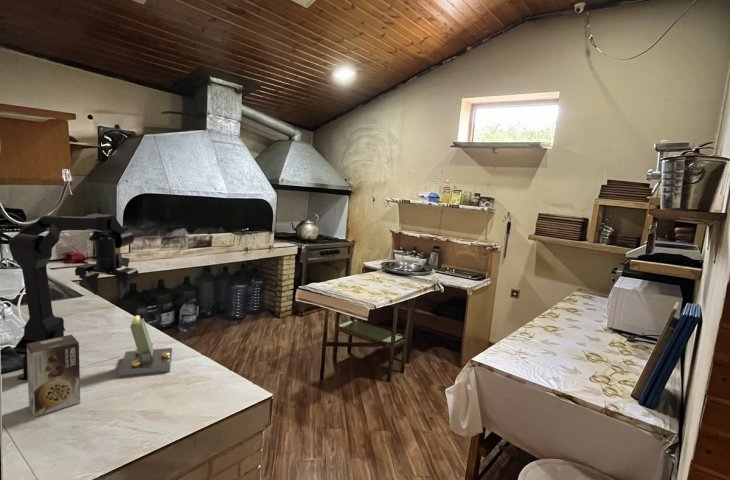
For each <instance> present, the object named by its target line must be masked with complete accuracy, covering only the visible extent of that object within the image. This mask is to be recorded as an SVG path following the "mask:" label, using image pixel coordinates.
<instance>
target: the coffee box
mask: <svg viewBox="0 0 730 480" xmlns="http://www.w3.org/2000/svg"><path fill="white" fill-rule="evenodd" d="M27 369H28V379H27V388H28V389H27V393H28V407H29V409H30V411H31V413H32V415H33V416H34V417H35V418H36V417H40V416H41V415H46V414H48V413H52V412H55V411H58V410H61V409H65V408H68V407H70V406H74V405H76V404H79V403H81V377H80V376H81V373H80V342H79V341H78V340H77V339H76V337H75V336H74V335H73V334H68V335H64V336H62V337H57V338H52V339H47V340H42V341H38V342H33V343H28V344H27Z"/></svg>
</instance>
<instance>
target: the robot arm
mask: <svg viewBox="0 0 730 480" xmlns="http://www.w3.org/2000/svg"><path fill="white" fill-rule="evenodd" d="M47 230H48V233H46V235H41V234H43V233H45V232H46V231H47ZM63 230H64V231H65V230H88V231H91V232H93V231H94V232H93V234H91V236H89V238H88V241H91V242H94V255H92V256H91V257H92V260H95V263H89V262H87V263H85V264H81V265H78V266H76V267H75V270H74V275H75V276H78V278H79V279H81V280H82V281H83V283H84V284H86V286H87V287H88V288H89V290H90V291H91V292H92V294H93V295H94V296H95V295H96V296H97V295H98V294H99V280H98V278H99V276H100V275H106V276H115V279H116V280H115V281H114V283H115V286H116V289H117V294H118V297H119V298H120V299H122V298H124V295H125V292H126V289H127V287H128V284H129V283H130V282H131V281H132V280H134V279H136V278H137V277H139V271H138V268H134V267H129V266H130V265H129V264H130V258H128V257H121V256H120V253H119V252H116V250H117V249H121V248H124V247H126V246H130V245H133V243H134V241H135V236H134V234H133V233H132V231H131V230H129V227H128V226H122V225H121V223H120V222H119V221H118V219H117V217H116V215H113V214H112V215H111V214H102V213H90V214H87V215H86V216H67V215H66V216H63V215H51V214H50V215H49V214H46V215H42V216H41V217H39V218H38V220H36V221H35V222H33V223H30V224H29V225H27V226H25V227H23V228H22V229H20V231H19V232H18V233H17V234H15V235H14V236H13V237H12V238H11V240H9V243H8V248H9V251H10V254H11V257H12V259H13V261H15V262H16V264H17V265H18V266H19V267H20V269H21V271H22V278H23V279H22V280H23V282H24V283H23V284H24V290H25V296H26V297H25V298H26V302H27V308H28V309H27V310H28V315H29V317H28V320H27V321H26V323H25V325H24V327H23V336H22V337H21V338H20V340H18V343H17V344H16V345H15V347H14V348H13V351H14V353H15V355H17V356H18V355H20V356H23V357H22V368H23V371H22V373H21V374H20V375H19V376H17V380H28V369H27V344H28V343H33V342H38V341H42V340H47V339H52V338H57V337H62V336H65V331H66V328H65V323H64V321H65V320H64V318H63V317H60V316H55V315H54V312H53V307H52V306H53V305H52V299H51V292H50V291H51V290H50V284H49V279H48V278H49V276H48V270H47V269H48V268H47V265H48V264H49V261H50V260H51V258H52V256H53V255H52V254H53V247H55V246H56V244H57V243H58V242H59V241H60V235H61V232H62V231H63ZM98 232H99V233H98ZM122 267H124V268H122Z"/></svg>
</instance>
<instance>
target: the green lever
mask: <svg viewBox="0 0 730 480" xmlns="http://www.w3.org/2000/svg"><path fill="white" fill-rule="evenodd" d="M130 331H131V334H132V336H133V337H132V338H133V339H134V343H135V345H136V347H135V348H136V349H137V350H138V353H139V356H140V359H141V360H142V353H148V352H150V358H151V357H152V355H153V351H154V350H153V349H154V346H152V344H151V343H152V341H151V338H150V334H149V332H148V331H149V330H148V328H147V324H146V321H145V319H144V317H143V318H141V316H140V315H134V317H133V319H132V321H131V324H130Z"/></svg>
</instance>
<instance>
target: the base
mask: <svg viewBox="0 0 730 480" xmlns="http://www.w3.org/2000/svg"><path fill="white" fill-rule="evenodd" d="M151 344H152V347H154V346H153V345H154V344H153V342H151ZM153 350H154V351H153V355H152V357H151V358H150V352H148V353H142V360H141V359H140V356H139V353H138V350H137V348H136V349H135V350H132V351H131V350H130V351H125V353H124V356H123V358H122V360H121V364H120V365H119V369H118V378H124V377H134V376H144V375H153V374H154V375H155V374H164V373H170V372H171V365H172V359H173V358H172V357H173V348H172V347H169V348H168V347H166V348H155V349H154V348H153Z"/></svg>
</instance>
